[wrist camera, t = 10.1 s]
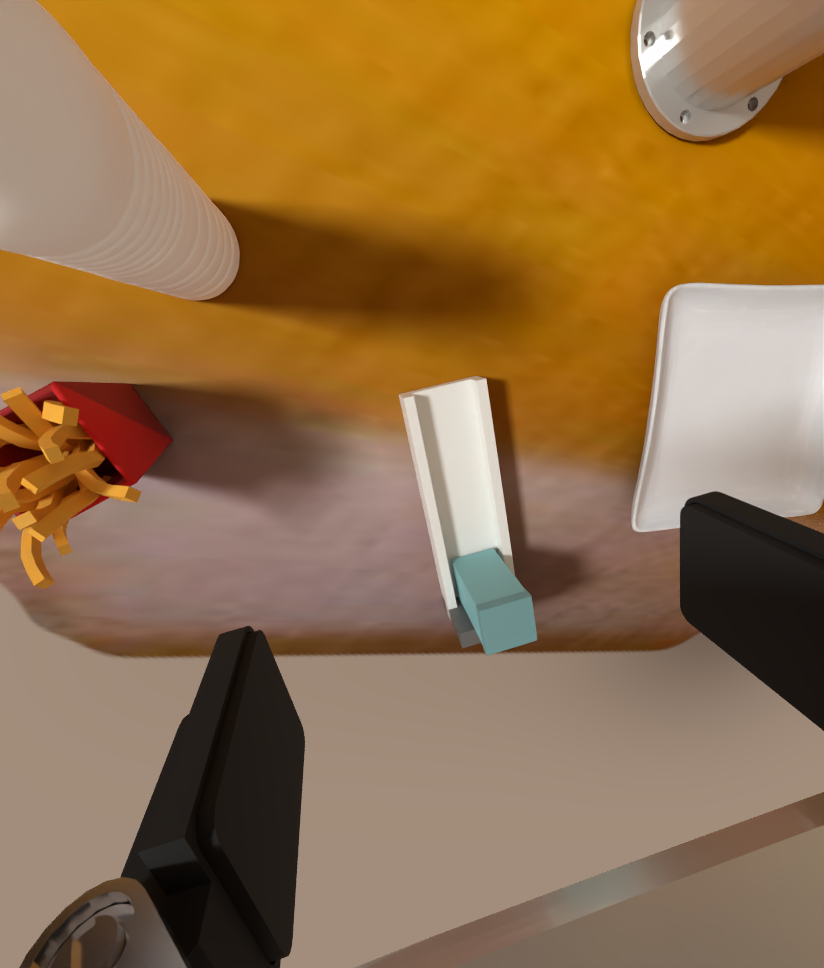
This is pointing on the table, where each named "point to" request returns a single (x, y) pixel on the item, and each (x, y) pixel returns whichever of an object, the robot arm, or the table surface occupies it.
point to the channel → (457, 481)
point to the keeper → (494, 601)
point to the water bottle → (96, 173)
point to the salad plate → (735, 402)
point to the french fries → (70, 458)
